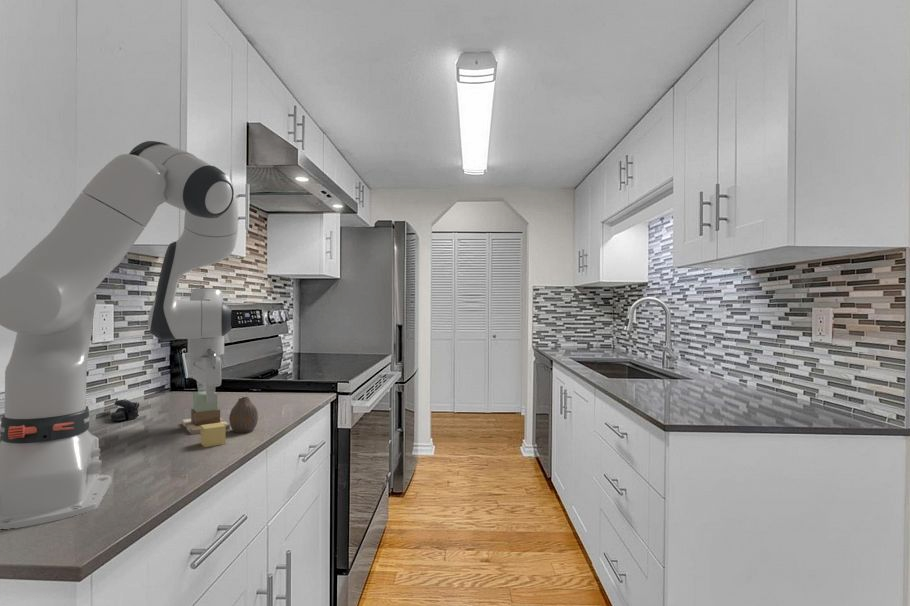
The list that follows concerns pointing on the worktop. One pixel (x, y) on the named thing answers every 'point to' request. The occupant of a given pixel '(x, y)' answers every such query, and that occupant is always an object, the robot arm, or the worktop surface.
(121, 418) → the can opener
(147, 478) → the worktop surface
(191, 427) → the board
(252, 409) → the vase
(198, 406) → the sage brick
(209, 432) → the ochre brick
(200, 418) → the walnut brick
